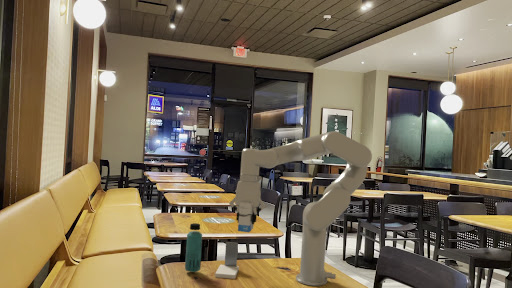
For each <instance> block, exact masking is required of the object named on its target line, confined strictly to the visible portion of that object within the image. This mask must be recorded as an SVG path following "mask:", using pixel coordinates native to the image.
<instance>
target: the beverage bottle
mask: <svg viewBox="0 0 512 288" xmlns="http://www.w3.org/2000/svg"><path fill="white" fill-rule="evenodd" d="M189 230H191V231H189V232H188V233H187V234H186V248H185V250H186V251H185V252H186V253H185V264H184V269H185V271H186V272H195V273H197V272H199V271H200V270H201V265H202V264H201V263H202V249H203V248H202V247H203V234H202V233H201V232H200V231H199V230H201V224H200V223H190V226H189Z"/></svg>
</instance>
